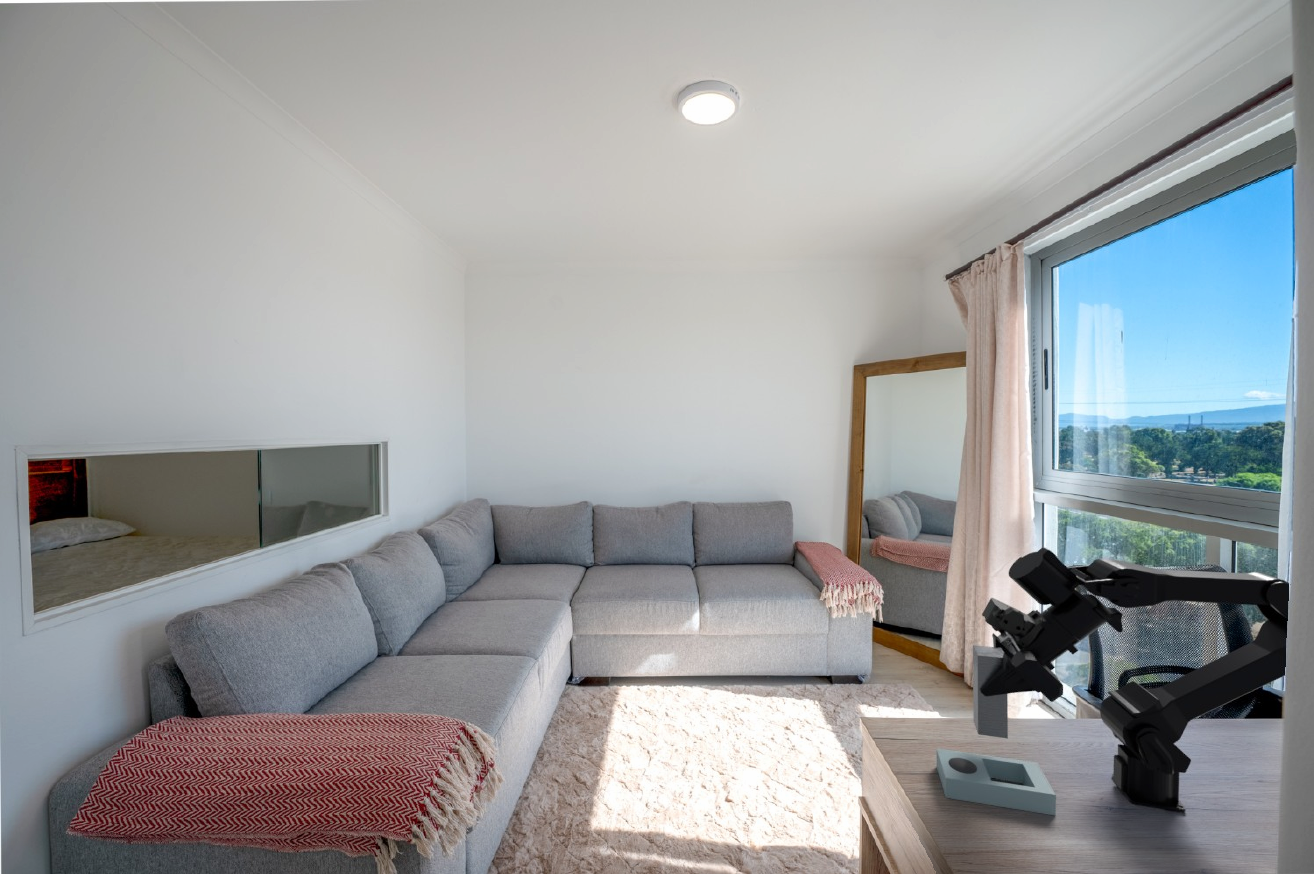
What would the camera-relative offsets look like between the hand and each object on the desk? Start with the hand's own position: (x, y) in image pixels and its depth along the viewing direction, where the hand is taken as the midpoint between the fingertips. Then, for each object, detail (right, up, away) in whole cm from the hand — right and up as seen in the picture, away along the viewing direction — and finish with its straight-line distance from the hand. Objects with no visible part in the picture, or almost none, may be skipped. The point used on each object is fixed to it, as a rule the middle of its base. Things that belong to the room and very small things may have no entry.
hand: (979, 687), depth 90 cm
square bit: (+1, -7, 0) cm, 7 cm away
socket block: (-1, -14, -4) cm, 14 cm away
